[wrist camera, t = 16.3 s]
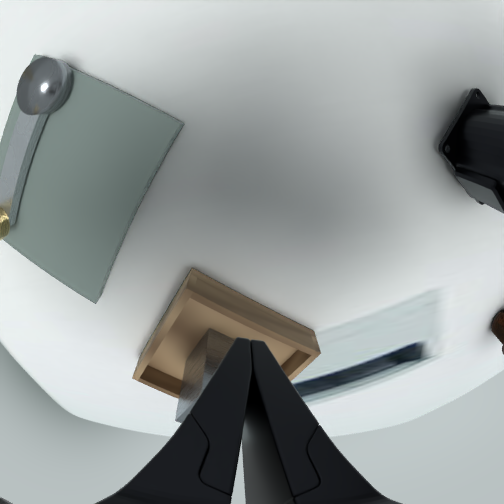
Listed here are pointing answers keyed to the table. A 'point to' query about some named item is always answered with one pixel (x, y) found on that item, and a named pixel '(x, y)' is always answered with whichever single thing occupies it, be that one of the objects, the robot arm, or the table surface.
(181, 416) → the block
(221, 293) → the tray
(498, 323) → the bolt
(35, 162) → the crank base
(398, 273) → the table surface
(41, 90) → the crank
